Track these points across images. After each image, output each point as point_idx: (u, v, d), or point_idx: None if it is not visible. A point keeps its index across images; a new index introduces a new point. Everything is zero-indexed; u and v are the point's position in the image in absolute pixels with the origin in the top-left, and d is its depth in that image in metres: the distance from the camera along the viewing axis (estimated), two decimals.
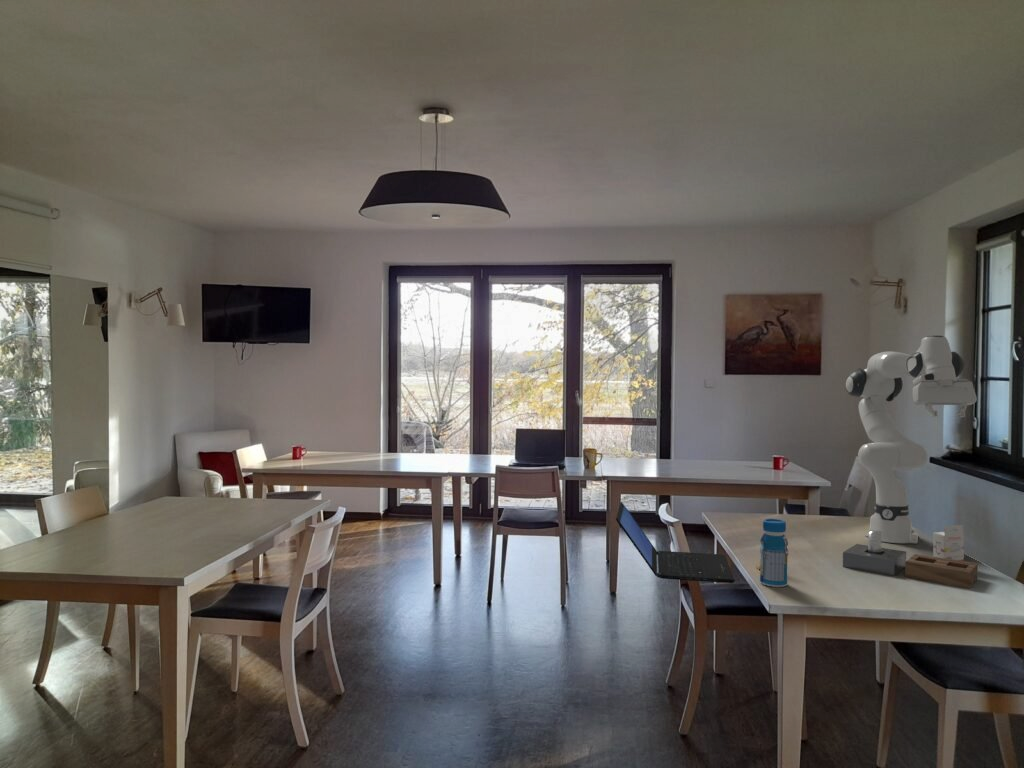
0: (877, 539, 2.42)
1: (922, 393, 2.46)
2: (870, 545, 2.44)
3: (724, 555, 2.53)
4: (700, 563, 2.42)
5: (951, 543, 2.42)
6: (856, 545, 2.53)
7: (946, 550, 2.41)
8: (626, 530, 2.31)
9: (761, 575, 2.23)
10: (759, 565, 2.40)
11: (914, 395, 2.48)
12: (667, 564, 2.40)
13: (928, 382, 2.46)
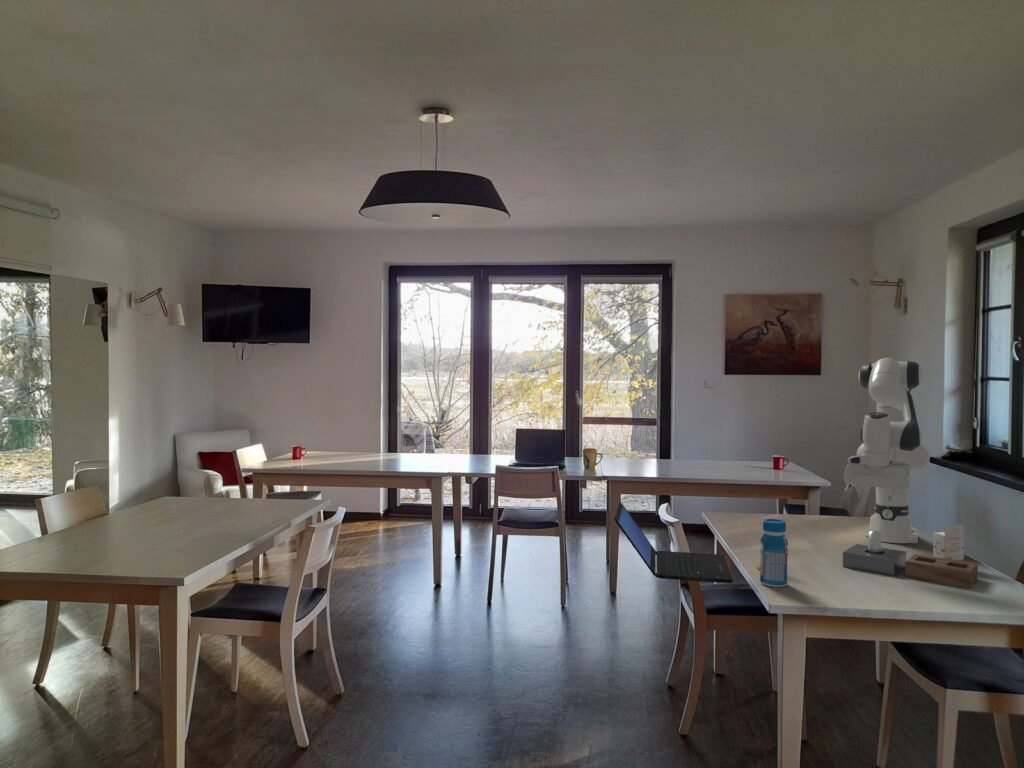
0: (877, 539, 2.42)
1: (848, 475, 2.48)
2: (870, 545, 2.44)
3: (723, 555, 2.53)
4: (699, 563, 2.42)
5: (951, 543, 2.42)
6: (856, 545, 2.53)
7: (946, 550, 2.41)
8: (624, 530, 2.31)
9: (761, 575, 2.23)
10: (759, 565, 2.40)
11: None
12: (666, 564, 2.40)
13: (854, 465, 2.46)
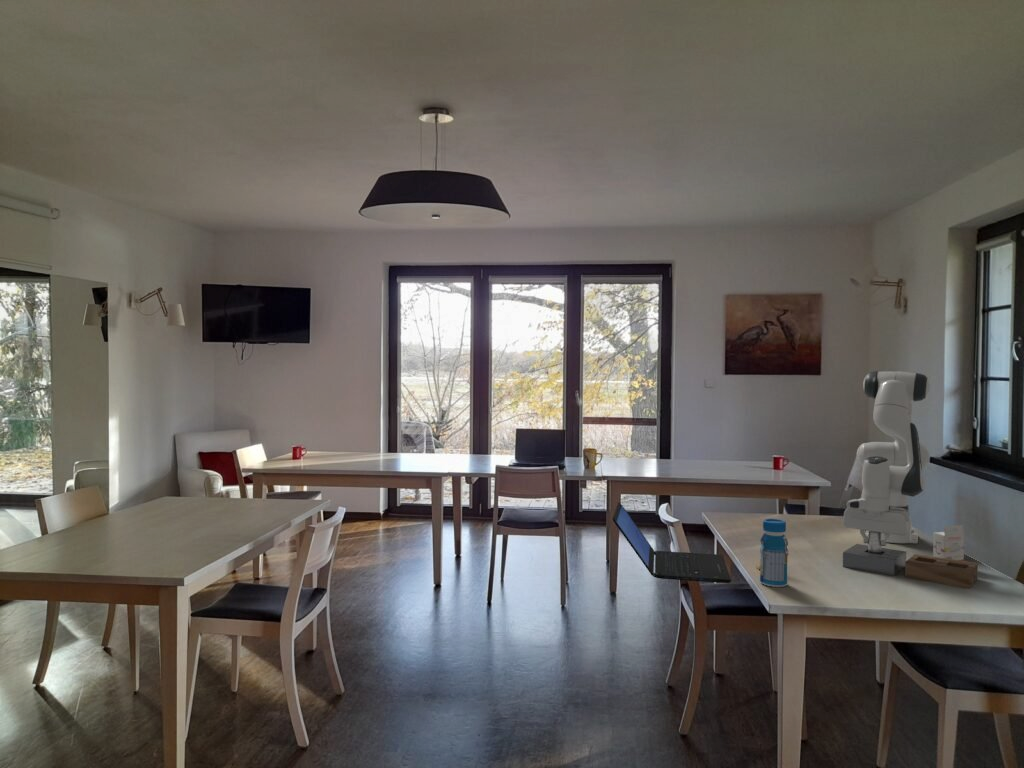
0: (877, 539, 2.42)
1: (847, 519, 2.48)
2: (870, 545, 2.44)
3: None
4: (697, 563, 2.42)
5: (951, 543, 2.42)
6: (856, 545, 2.53)
7: (946, 550, 2.41)
8: (623, 530, 2.31)
9: (761, 575, 2.23)
10: (759, 565, 2.40)
11: None
12: (664, 564, 2.40)
13: (853, 509, 2.46)
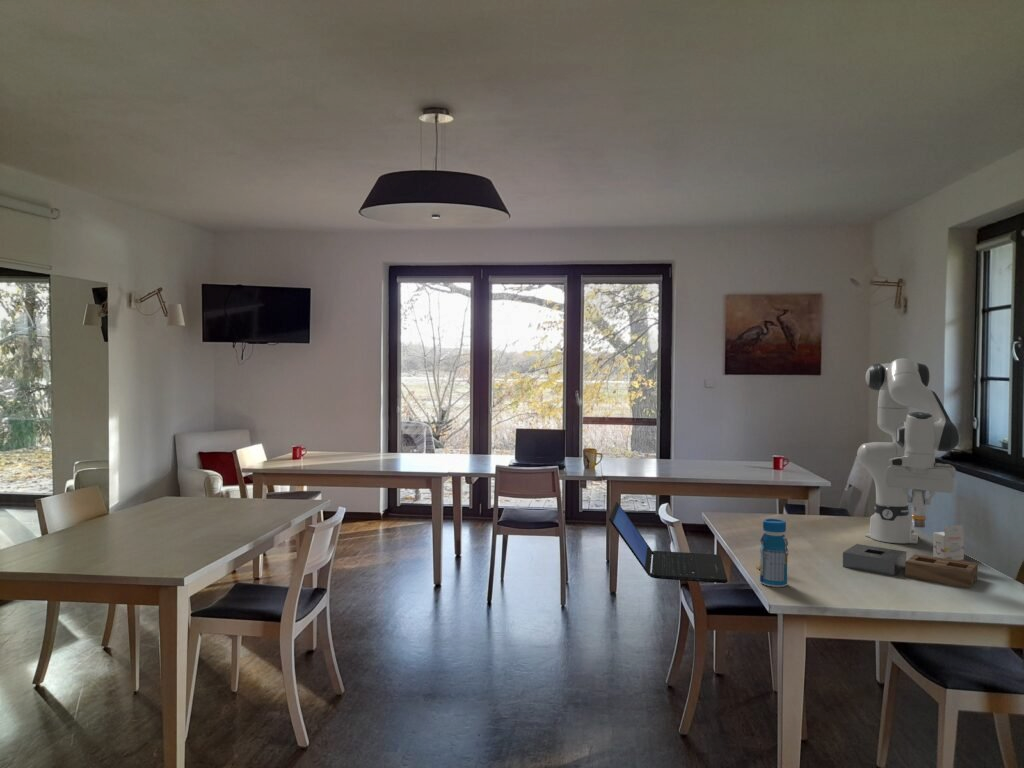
0: (921, 498, 2.33)
1: (889, 477, 2.39)
2: (914, 504, 2.34)
3: (719, 555, 2.53)
4: (694, 563, 2.42)
5: (951, 543, 2.42)
6: (856, 545, 2.53)
7: (946, 550, 2.41)
8: (619, 530, 2.31)
9: (761, 575, 2.23)
10: (759, 565, 2.40)
11: None
12: (661, 564, 2.40)
13: (896, 467, 2.37)
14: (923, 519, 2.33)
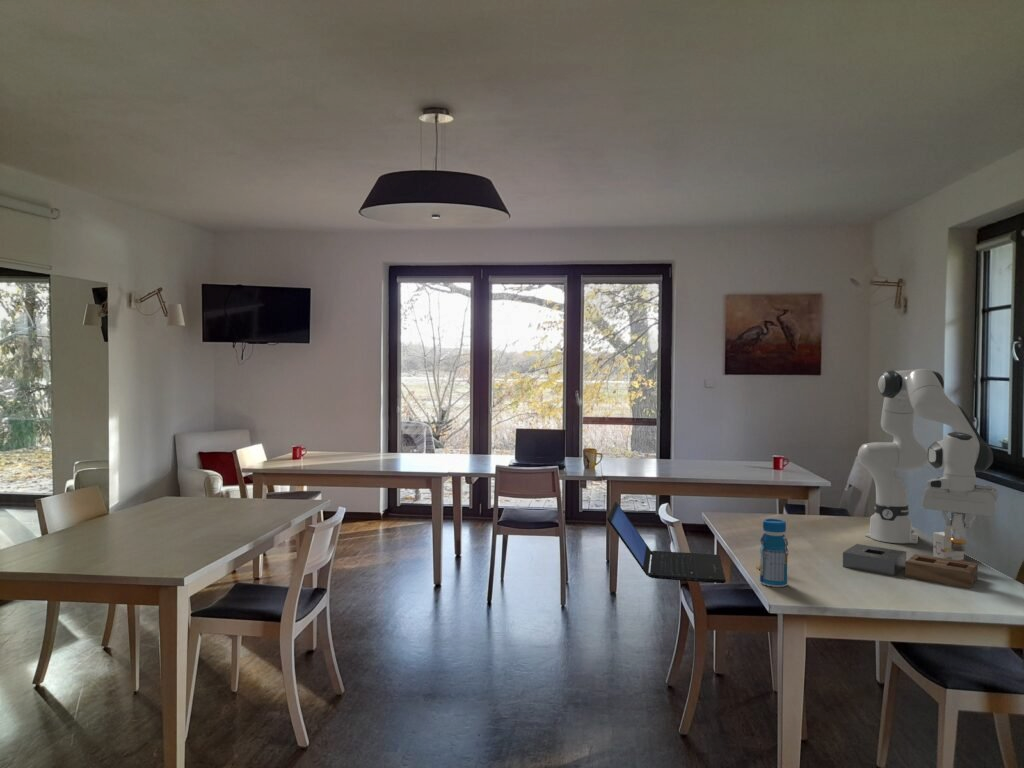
0: (962, 521, 2.26)
1: (927, 499, 2.32)
2: (953, 527, 2.27)
3: (718, 555, 2.53)
4: (693, 563, 2.42)
5: None
6: (856, 545, 2.53)
7: (946, 550, 2.41)
8: (617, 530, 2.31)
9: (761, 575, 2.23)
10: (759, 565, 2.40)
11: None
12: (660, 564, 2.40)
13: (935, 489, 2.30)
14: (963, 543, 2.26)
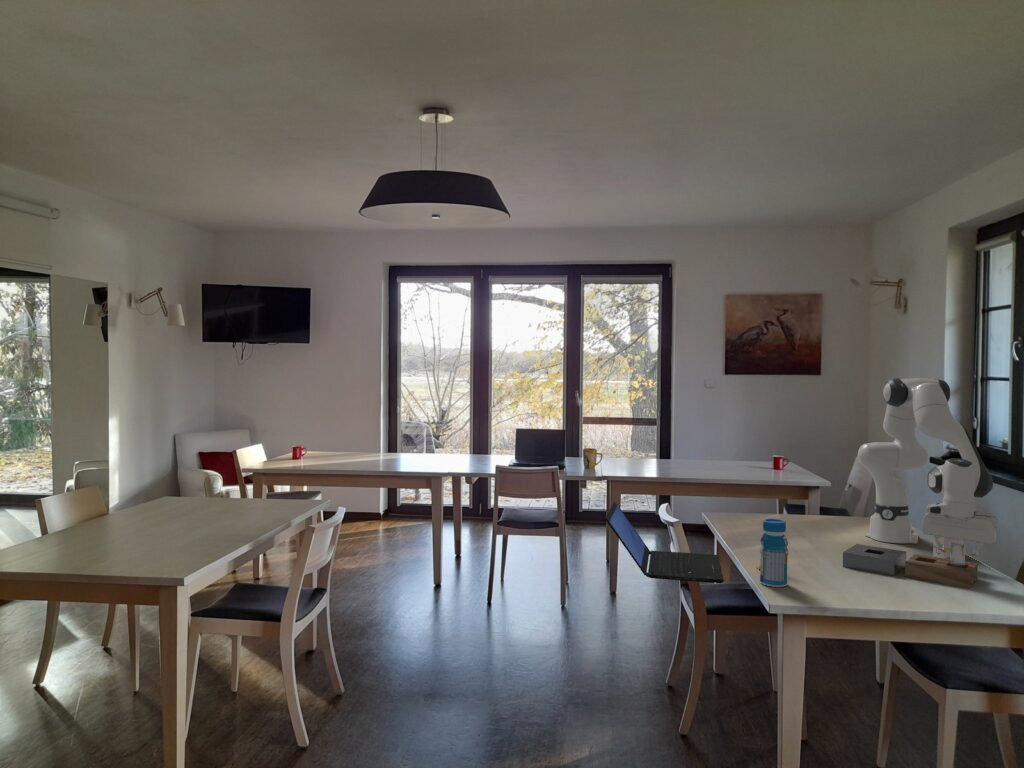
0: (961, 552, 2.26)
1: (926, 525, 2.32)
2: (953, 558, 2.27)
3: (717, 555, 2.53)
4: (691, 563, 2.42)
5: None
6: (856, 545, 2.53)
7: (946, 550, 2.41)
8: (615, 530, 2.32)
9: (761, 575, 2.23)
10: (759, 565, 2.40)
11: None
12: (658, 564, 2.40)
13: (934, 515, 2.30)
14: None
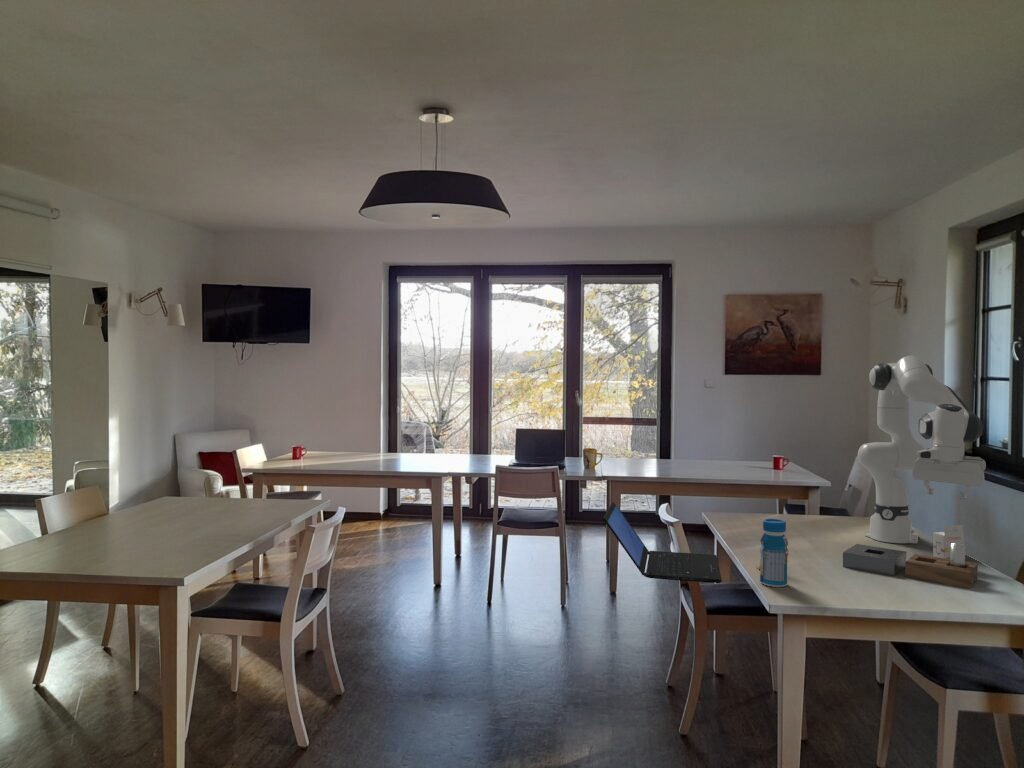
0: (961, 552, 2.26)
1: (916, 470, 2.36)
2: (953, 558, 2.27)
3: None
4: (690, 563, 2.42)
5: None
6: (856, 545, 2.53)
7: (946, 550, 2.41)
8: (613, 529, 2.32)
9: (761, 575, 2.23)
10: (759, 565, 2.40)
11: None
12: (656, 564, 2.41)
13: (924, 460, 2.34)
14: None
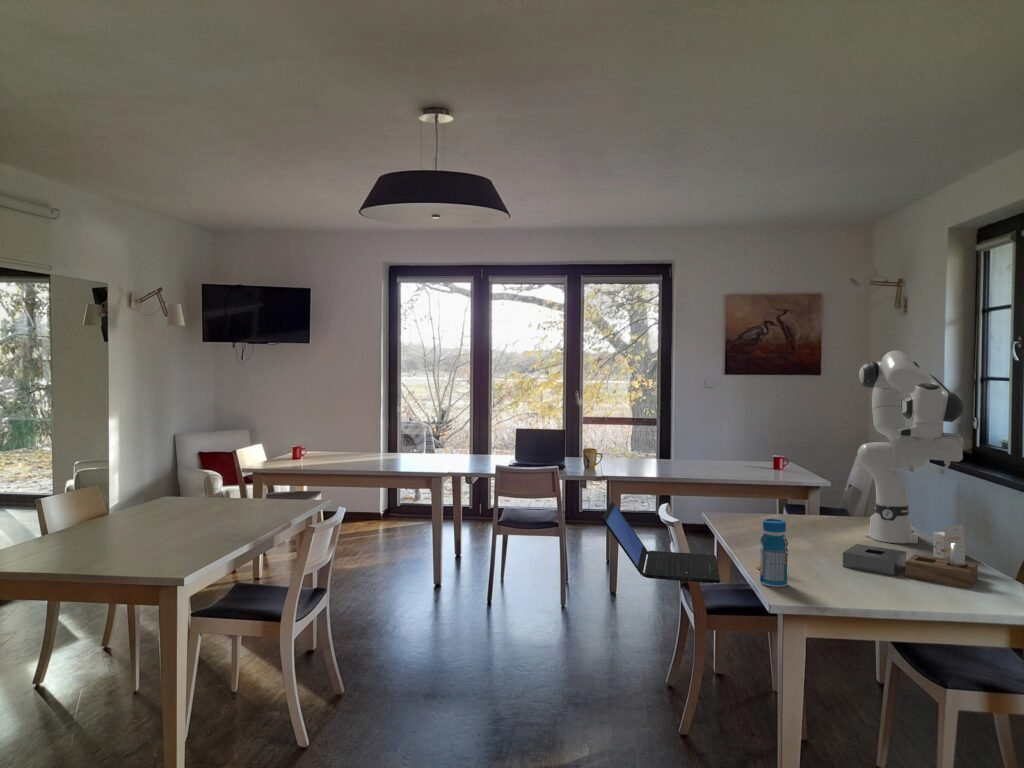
0: (961, 552, 2.26)
1: (898, 448, 2.44)
2: (953, 558, 2.27)
3: None
4: (689, 563, 2.42)
5: None
6: (856, 545, 2.53)
7: (946, 550, 2.41)
8: (612, 529, 2.32)
9: (761, 575, 2.23)
10: (759, 565, 2.40)
11: None
12: (655, 564, 2.41)
13: (905, 437, 2.42)
14: None
